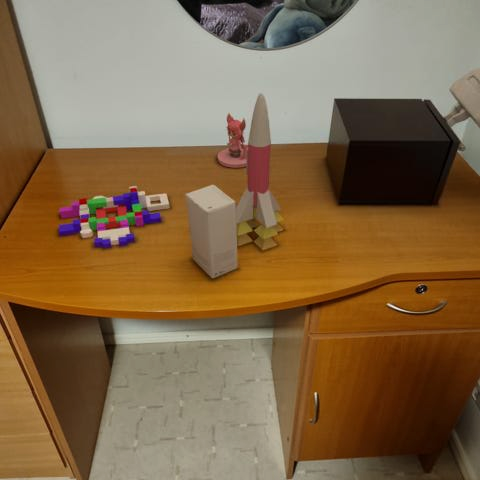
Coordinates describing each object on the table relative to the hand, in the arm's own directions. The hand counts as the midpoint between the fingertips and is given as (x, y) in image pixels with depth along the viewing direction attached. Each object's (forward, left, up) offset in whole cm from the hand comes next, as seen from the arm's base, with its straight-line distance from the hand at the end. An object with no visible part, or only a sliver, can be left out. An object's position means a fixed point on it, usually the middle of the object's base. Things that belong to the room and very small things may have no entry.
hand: (445, 123), depth 114 cm
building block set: (+77, +19, -15) cm, 81 cm away
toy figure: (+50, -11, -15) cm, 53 cm away
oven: (+14, 0, -15) cm, 20 cm away
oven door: (0, 0, -15) cm, 15 cm away
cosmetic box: (+54, +35, -15) cm, 66 cm away
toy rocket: (+45, +24, -15) cm, 53 cm away
